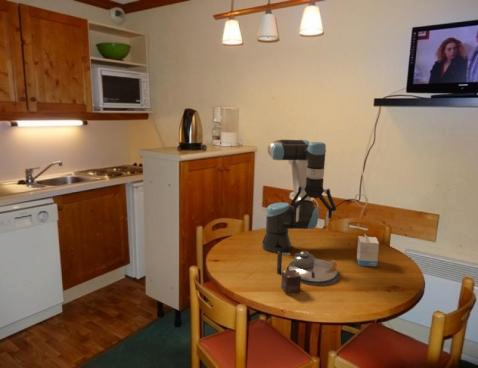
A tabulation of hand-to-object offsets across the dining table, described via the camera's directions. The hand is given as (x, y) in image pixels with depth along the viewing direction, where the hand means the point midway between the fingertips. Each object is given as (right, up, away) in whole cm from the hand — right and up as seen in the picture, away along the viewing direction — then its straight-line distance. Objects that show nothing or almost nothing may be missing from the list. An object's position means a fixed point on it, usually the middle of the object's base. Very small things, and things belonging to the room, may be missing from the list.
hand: (312, 222), depth 158 cm
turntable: (-1, -22, -5) cm, 22 cm away
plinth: (-1, -22, -5) cm, 22 cm away
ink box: (+27, -20, +7) cm, 35 cm away
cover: (-4, -19, -2) cm, 19 cm away
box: (-13, -25, -20) cm, 35 cm away
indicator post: (-14, -22, -5) cm, 26 cm away
